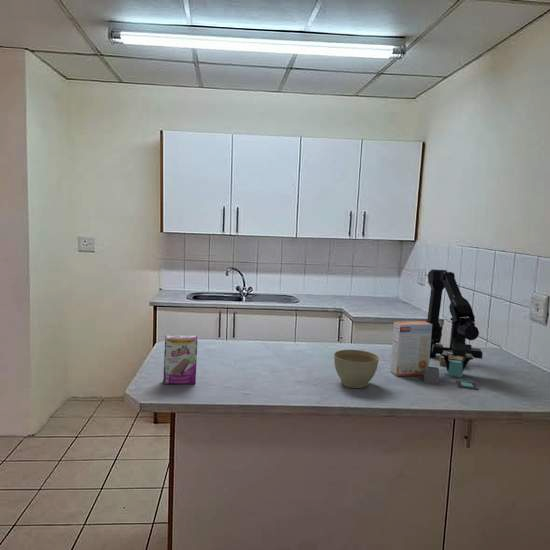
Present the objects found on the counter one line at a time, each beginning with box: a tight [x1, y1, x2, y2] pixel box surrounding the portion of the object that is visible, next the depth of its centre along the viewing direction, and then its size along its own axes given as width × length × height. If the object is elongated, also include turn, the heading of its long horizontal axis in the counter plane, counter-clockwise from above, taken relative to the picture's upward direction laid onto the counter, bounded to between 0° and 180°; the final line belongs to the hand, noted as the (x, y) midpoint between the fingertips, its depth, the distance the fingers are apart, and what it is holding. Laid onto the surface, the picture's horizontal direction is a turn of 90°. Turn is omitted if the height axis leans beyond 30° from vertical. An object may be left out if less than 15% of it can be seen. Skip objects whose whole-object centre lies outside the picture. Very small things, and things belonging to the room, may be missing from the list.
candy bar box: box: [163, 334, 198, 385], centre depth 174 cm, size 11×5×16 cm, turn 102°
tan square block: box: [438, 352, 463, 368], centre depth 215 cm, size 9×9×4 cm
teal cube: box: [446, 360, 463, 378], centre depth 201 cm, size 5×5×5 cm
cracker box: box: [390, 320, 432, 377], centre depth 197 cm, size 14×6×21 cm, turn 103°
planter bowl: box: [333, 349, 380, 389], centre depth 182 cm, size 16×16×11 cm
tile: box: [455, 380, 479, 391], centre depth 188 cm, size 7×7×1 cm
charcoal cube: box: [423, 366, 440, 385], centre depth 191 cm, size 5×5×5 cm
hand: (454, 371), depth 201 cm, fingers closed on teal cube, 5 cm apart
